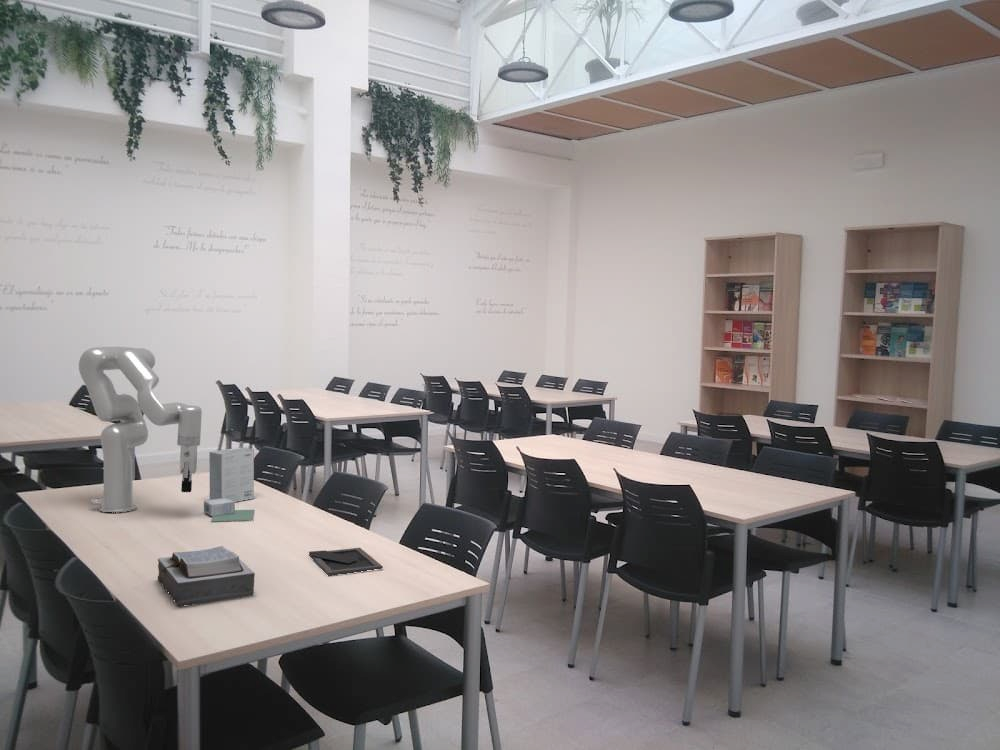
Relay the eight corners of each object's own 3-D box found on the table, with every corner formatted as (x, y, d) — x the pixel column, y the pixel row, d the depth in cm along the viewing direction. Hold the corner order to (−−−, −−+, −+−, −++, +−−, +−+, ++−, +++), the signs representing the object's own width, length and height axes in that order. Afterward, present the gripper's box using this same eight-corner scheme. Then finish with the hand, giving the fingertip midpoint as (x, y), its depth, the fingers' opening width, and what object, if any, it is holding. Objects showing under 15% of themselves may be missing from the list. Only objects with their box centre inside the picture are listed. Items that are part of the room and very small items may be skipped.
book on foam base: (156, 611, 196) (156, 571, 195) (156, 577, 220) (157, 542, 220) (256, 600, 205) (256, 562, 204) (245, 569, 229) (245, 535, 229)
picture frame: (308, 558, 243) (328, 578, 225) (308, 551, 243) (328, 571, 225) (359, 552, 251) (382, 571, 232) (359, 546, 251) (382, 564, 232)
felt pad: (211, 522, 280) (211, 521, 280) (214, 511, 295) (214, 510, 295) (253, 521, 284) (253, 519, 283) (254, 510, 299) (254, 509, 299)
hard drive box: (242, 496, 322) (243, 447, 321) (254, 499, 318) (255, 449, 317) (208, 502, 310) (209, 451, 309) (220, 505, 305) (221, 453, 304)
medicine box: (211, 516, 286) (234, 513, 292) (211, 504, 286) (235, 501, 291) (203, 512, 292) (227, 509, 298) (203, 500, 292) (227, 497, 297)
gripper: (198, 444, 278) (195, 496, 279) (201, 437, 292) (199, 487, 293) (175, 444, 276) (172, 496, 277) (179, 436, 290) (177, 486, 291)
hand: (186, 491), depth 285 cm, fingers closed
